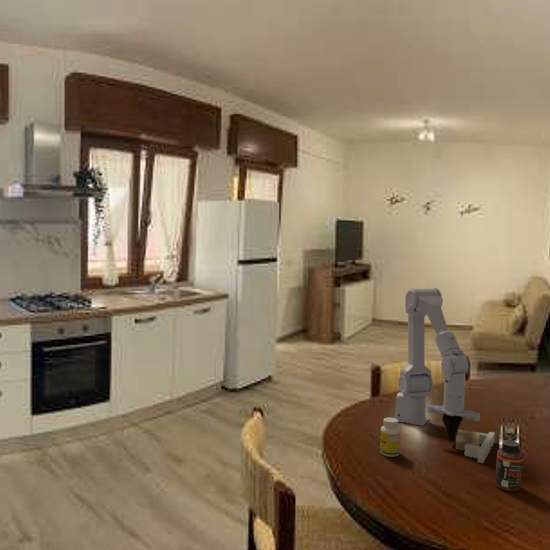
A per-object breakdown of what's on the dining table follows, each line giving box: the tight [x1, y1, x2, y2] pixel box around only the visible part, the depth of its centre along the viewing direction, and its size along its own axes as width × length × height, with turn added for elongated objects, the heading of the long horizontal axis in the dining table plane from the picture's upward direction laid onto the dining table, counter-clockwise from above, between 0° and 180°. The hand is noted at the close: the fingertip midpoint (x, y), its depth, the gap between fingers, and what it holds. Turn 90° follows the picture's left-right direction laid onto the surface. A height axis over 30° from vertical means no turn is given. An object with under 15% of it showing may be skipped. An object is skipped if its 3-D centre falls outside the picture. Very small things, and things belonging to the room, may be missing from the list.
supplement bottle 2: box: [494, 439, 524, 492], centre depth 147 cm, size 6×6×11 cm
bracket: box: [464, 431, 496, 464], centre depth 171 cm, size 6×18×3 cm, turn 151°
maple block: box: [455, 428, 481, 451], centre depth 173 cm, size 6×6×4 cm
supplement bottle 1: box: [379, 417, 401, 458], centre depth 167 cm, size 5×5×10 cm
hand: (451, 440), depth 175 cm, fingers closed
